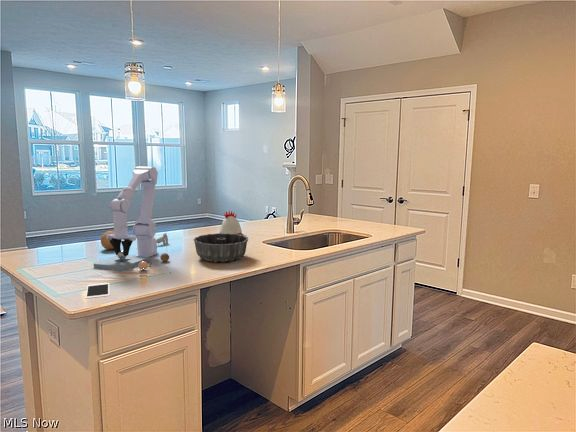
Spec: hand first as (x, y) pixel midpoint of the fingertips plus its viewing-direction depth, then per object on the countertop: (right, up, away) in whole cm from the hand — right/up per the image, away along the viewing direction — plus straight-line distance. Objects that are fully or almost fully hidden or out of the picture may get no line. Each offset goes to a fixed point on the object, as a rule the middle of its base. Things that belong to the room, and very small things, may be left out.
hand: (122, 255), depth 191 cm
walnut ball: (+18, -2, +6) cm, 19 cm away
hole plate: (0, -4, +1) cm, 4 cm away
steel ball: (0, 0, 0) cm, 0 cm away
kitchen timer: (+40, +6, +73) cm, 83 cm away
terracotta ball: (+13, -4, -9) cm, 16 cm away
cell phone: (+5, -10, -35) cm, 37 cm away
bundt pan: (+43, -3, +14) cm, 45 cm away
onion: (-18, 0, +30) cm, 35 cm away
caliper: (+3, +1, +37) cm, 37 cm away
